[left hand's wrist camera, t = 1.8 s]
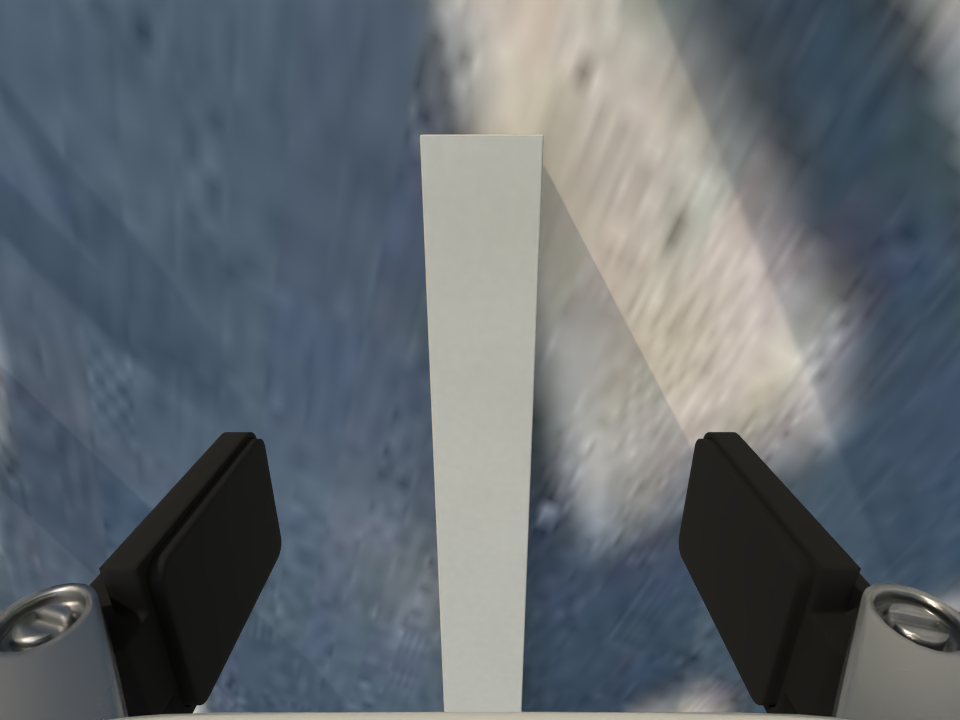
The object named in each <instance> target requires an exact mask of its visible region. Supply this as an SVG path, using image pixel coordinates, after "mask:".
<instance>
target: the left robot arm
mask: <svg viewBox="0 0 960 720" xmlns="http://www.w3.org/2000/svg"><path fill="white" fill-rule="evenodd" d="M280 550H281V535H280V529H279V523H278V518H277V512H276V506H275V501H274V495H273V489H272V483H271V478H270V472H269V466H268V460H267V455H266V449H265V444H264V442H263V440H262V439H257V438H256V436H255V434H254V433H252V432H225V433H223V434H222V435H221V436H220V437H219V438H218V439H217V440H216V441H215V442H214V443H213V444H212V446H211V447H210V448H209V449H208V450H207V451H206V452H205V453H204V454H203V455H202V457H201V458H200V459H199V460H198V461H197V462H196V463H195V464H194V465H193V466H192V467H191V469H190V470H189V471H188V472H187V473H186V474H185V475H184V476H183V477H182V478H181V480H180V481H179V482H178V483H177V484H176V485H175V486H174V487H173V488H172V489H171V490H170V492H169V493H168V494H167V495H166V496H165V497H164V498H163V499H162V500H161V501H160V503H159V504H158V505H157V506H156V507H155V508H154V509H153V510H152V511H151V512H150V513H149V515H148V516H147V517H146V518H145V519H144V520H143V521H142V522H141V523H140V524H139V526H138V527H137V528H136V529H135V530H134V531H133V532H132V533H131V534H130V535H129V537H128V538H127V539H126V540H125V541H124V542H123V543H122V544H121V545H120V546H119V547H118V549H117V550H116V551H115V552H114V553H113V554H112V555H111V556H110V557H109V558H108V560H107V561H106V562H105V563H104V564H103V565H102V566H101V567H100V568H99V569H100V572H101V573H100V574H99V576H98V577H97V578H96V579H95V580H94V581H93V582H92V583H91V584H90V586H88V585H86V584H79V583H68V584H62V585H56V586H52V587H49V588H46V589H43V590H40V591H37V592H35V593H33V594H31V595H29V596H27V597H25V598H23V599H21V600H19V601H17V602H16V603H14V604H13V605H11V606H10V607H8V608H7V609H5V610H4V611H2V612H1V613H0V720H960V613H959V612H958V611H956V610H955V609H953V608H952V607H950V606H949V605H947V604H946V603H944V602H943V601H941V600H939V599H937V598H935V597H933V596H931V595H929V594H927V593H925V592H923V591H920V590H917V589H914V588H911V587H908V586H904V585H898V584H892V583H881V584H874V585H872V586H870V584H869V583H868V582H867V581H866V580H865V579H864V578H863V577H862V576H861V574H860V573H859V572H860V569H861V568H860V567H859V566H858V565H857V564H856V563H855V562H854V561H853V560H852V558H851V557H850V556H849V555H848V554H847V553H846V552H845V551H844V550H843V549H842V547H841V546H840V545H839V544H838V543H837V542H836V541H835V540H834V539H833V538H832V537H831V535H830V534H829V533H828V532H827V531H826V530H825V529H824V528H823V527H822V526H821V524H820V523H819V522H818V521H817V520H816V519H815V518H814V517H813V516H812V515H811V513H810V512H809V511H808V510H807V509H806V508H805V507H804V506H803V505H802V504H801V503H800V501H799V500H798V499H797V498H796V497H795V496H794V495H793V494H792V493H791V492H790V490H789V489H788V488H787V487H786V486H785V485H784V484H783V483H782V482H781V481H780V480H779V478H778V477H777V476H776V475H775V474H774V473H773V472H772V471H771V470H770V469H769V467H768V466H767V465H766V464H765V463H764V462H763V461H762V460H761V459H760V458H759V457H758V455H757V454H756V453H755V452H754V451H753V450H752V449H751V448H750V447H749V446H748V444H747V443H746V442H745V441H744V440H743V439H742V438H741V437H740V436H739V435H738V434H737V433H735V432H708V433H706V434H705V436H704V438H703V439H698V440H697V442H696V444H695V449H694V455H693V460H692V466H691V472H690V478H689V483H688V489H687V495H686V501H685V506H684V512H683V518H682V523H681V529H680V535H679V550H680V554H681V557H682V559H683V561H684V563H685V565H686V567H687V569H688V571H689V573H690V575H691V577H692V579H693V581H694V583H695V585H696V587H697V589H698V591H699V593H700V595H701V597H702V599H703V601H704V603H705V605H706V607H707V609H708V611H709V613H710V615H711V617H712V619H713V621H714V623H715V625H716V627H717V629H718V631H719V633H720V635H721V637H722V639H723V641H724V643H725V645H726V647H727V649H728V651H729V653H730V656H731V658H732V660H733V662H734V664H735V666H736V668H737V670H738V672H739V674H740V676H741V678H742V680H743V682H744V684H745V686H746V688H747V690H748V692H749V694H750V696H751V697H752V699H753V701H754V702H755V703H756V704H758V705H763V706H764V708H765V709H766V711H767V713H768V714H767V713H704V712H256V713H193V711H194V709H195V708H196V706H197V705H202V704H204V703H205V702H206V701H207V699H208V697H209V696H210V694H211V692H212V690H213V688H214V686H215V684H216V682H217V680H218V678H219V676H220V674H221V672H222V670H223V668H224V666H225V664H226V662H227V660H228V658H229V656H230V653H231V651H232V649H233V647H234V645H235V643H236V641H237V639H238V637H239V635H240V633H241V631H242V629H243V627H244V625H245V623H246V621H247V619H248V617H249V615H250V613H251V611H252V609H253V607H254V605H255V603H256V601H257V599H258V597H259V595H260V593H261V591H262V589H263V587H264V585H265V583H266V581H267V579H268V577H269V575H270V573H271V571H272V569H273V567H274V565H275V563H276V561H277V559H278V557H279V554H280ZM192 713H193V714H192Z"/></svg>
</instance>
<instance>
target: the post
mask: <svg viewBox="0 0 960 720" xmlns="http://www.w3.org/2000/svg"><path fill="white" fill-rule="evenodd" d="M420 146H421V170H422V194H423V217H424V241H425V265H426V289H427V312H428V336H429V360H430V384H431V407H432V431H433V455H434V478H435V502H436V526H437V550H438V573H439V597H440V621H441V645H442V668H443V692H444V712H521V708H522V682H523V656H524V630H525V604H526V578H527V552H528V526H529V500H530V474H531V448H532V422H533V396H534V369H535V343H536V317H537V291H538V265H539V239H540V213H541V187H542V161H543V135H542V134H500V135H420Z"/></svg>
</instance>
